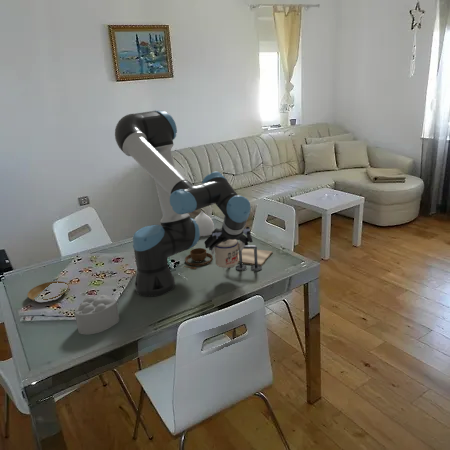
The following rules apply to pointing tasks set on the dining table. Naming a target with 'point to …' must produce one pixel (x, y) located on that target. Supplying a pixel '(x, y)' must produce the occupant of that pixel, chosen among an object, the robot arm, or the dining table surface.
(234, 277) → the dining table surface
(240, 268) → the bent rail
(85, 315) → the lumpy-topped squat cylinder
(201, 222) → the teardrop
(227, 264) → the teacup with lid
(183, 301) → the dining table surface
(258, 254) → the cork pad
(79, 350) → the dining table surface
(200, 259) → the place setting
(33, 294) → the plant saucer
